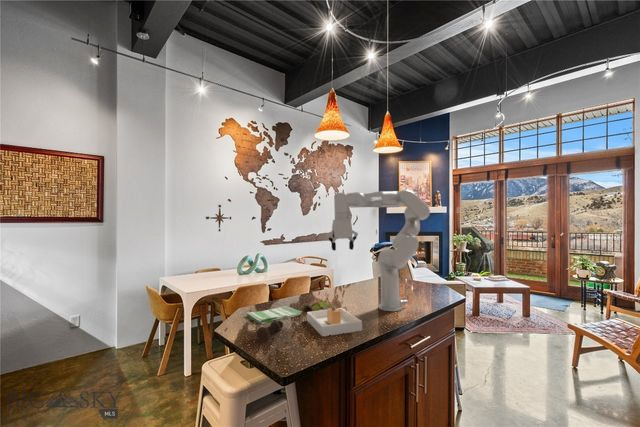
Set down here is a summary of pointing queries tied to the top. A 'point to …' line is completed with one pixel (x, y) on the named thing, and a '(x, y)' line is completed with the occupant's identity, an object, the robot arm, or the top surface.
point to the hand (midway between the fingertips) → (342, 249)
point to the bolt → (269, 330)
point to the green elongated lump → (318, 304)
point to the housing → (325, 329)
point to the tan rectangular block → (333, 316)
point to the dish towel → (273, 314)
